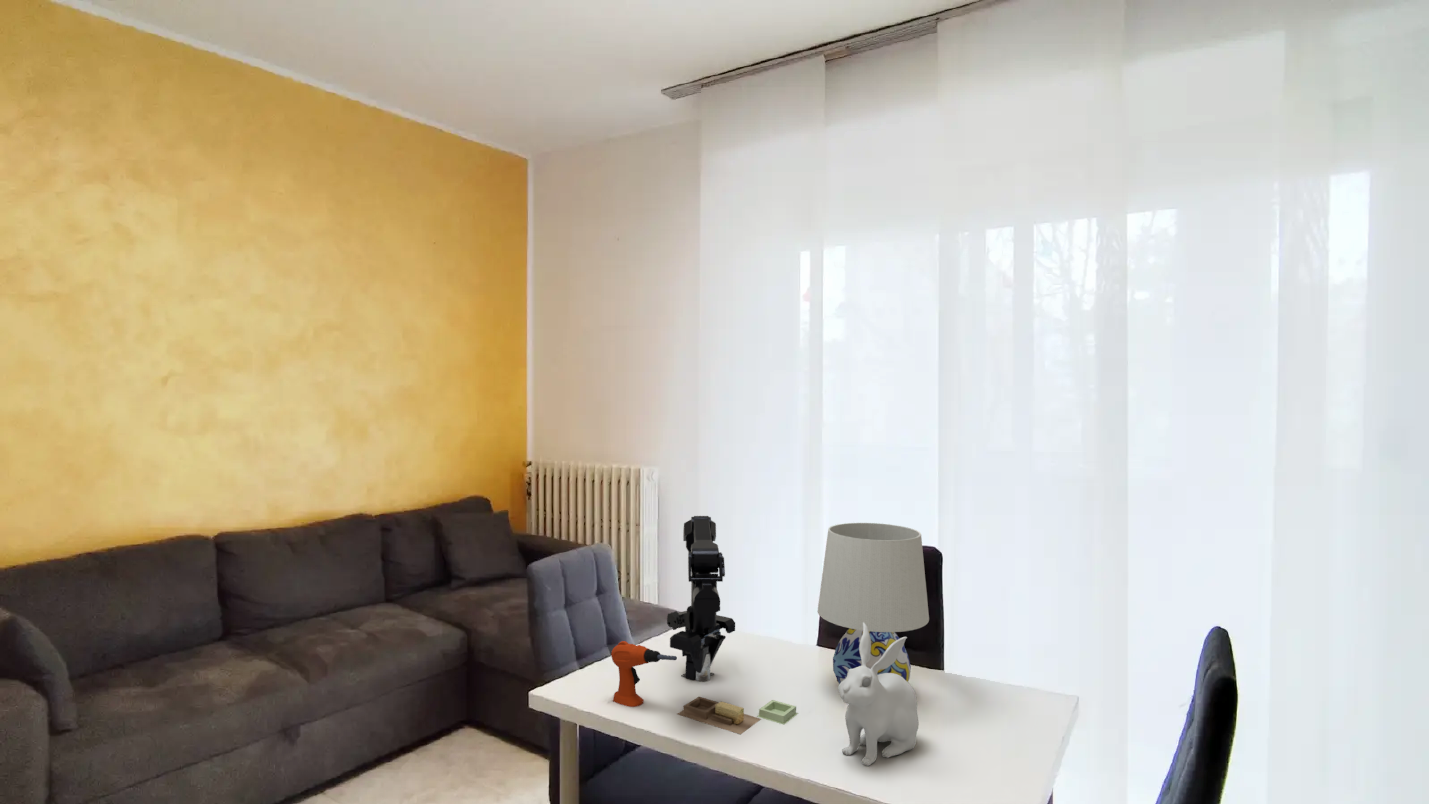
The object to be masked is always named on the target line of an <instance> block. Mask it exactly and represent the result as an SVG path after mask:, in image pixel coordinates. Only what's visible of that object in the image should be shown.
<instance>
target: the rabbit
mask: <svg viewBox="0 0 1429 804" xmlns="http://www.w3.org/2000/svg"><path fill="white" fill-rule="evenodd" d="M906 639H908V637H907V636H903V637H899V639H898V640H896V641H895V642H893V643H892V644H891V645H890V646H889V647H888V648H887V650H886V651H885V653H884V654H883V656H882V657H881V658H880V660H879V661H878V662H876V663H875V664H874V665H873V667H872V668H871V669H869V668H868V667H866V663H867V662H868V661H869V660H870V652H871V639H870V635H869V631H868V628H867V626H866V624H865V623H864V622H863V635H862V637H861V640H860V645H859V651H860V656H861V661H862V665H861V666H859V667H856V668H854V669H849V671H848V673H847V677H846V679H845V680H843V681H842V682H841V683H840V684H839V683H838V686H837V691H838V695H839V696H838V697H839V698H840V700H842V701H843V702H844V703H845V704H847V705H848V706H847V708H846V711H845V725H846V729H847V734H848V736H849V737H848V738H849V745H848V746H845V747H843V748H842V749H841V751H842V753H843V754H844V755H845V756H851V755H852V754H854V753H855V752H857V750H858V749H859V746H860V745H861V746H866V752H865V755H864V757H863V758H862V759H861V764H863V765H864V766H867V767H869V766H871V765H872V764H873V763H874V762H875V761H876V759H877V757H878V743H885V742H890V744H888V745H887V746H886V747H884V748H883V749H882V751H881V755H882V757H885V758H891V757H894V756H900V755H901V754H903V753H904V752H908V751H911V750H912V749H914V748H915V746H916V743H917V734H918V730H919V725H920V723H919V714H918V700H917V694H916V692H915V690H914V688H913V686H912V685H911V684H910V683H909V681H908V682H907V681H906V680H905V679H904V678H902V677H901V676H900V675H897V674H894V673H883V674H879V675H877V672H878V670H880V669H886V668H888V667H889V666H890V665H891V664H893V663H894V662H895V660H896V659H897V657H898V655H899V652H900V650H901V648H902V647H903V645H904V646H905V642H906ZM862 730H864V733H863V734H862V735H861V733H862Z"/></svg>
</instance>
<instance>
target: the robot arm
mask: <svg viewBox="0 0 1429 804" xmlns="http://www.w3.org/2000/svg"><path fill="white" fill-rule="evenodd" d="M682 533H683V536H682V537H683V538H682V539H683V542H685V549H686V550H687V552H688V553H687V569H688V571H687V572H688V573H687V575H688V582H689V583H690V582H691V584H690V585H691V586H690V587H691V588H690V589H691V591H690V593H691V594H690V595H691V599H690V600H691V601H690V603H691V604H690V605H689V606H687V608H686V610H684V611H680V612H678V611H677V610H676V611H672V612H671V611H670V612H669V613H667V614H666V615H667V616H666V624H667V627H668V628H672V631H676V630H677V629H682V628H684V629H685V630H680V631H679V632H677V633H674V634H672V635H671V636H670V638H669V647H670V648H671V649H675V650H679V651H681V655H682V657H685V673H683V674H680V675H681V676H680V677H682V678H685V679H687V680H688V679H689V680H691V681H696V682H699V683H700V682H701V681H697V680H696V672H698V673H701V671H702V668H703V665H704V661H705V658H706V654H707V651H708V647H709V652H710V667H711V666H712V664H713V662H714V660H715V658H716V655H717V654H718V651H719V650H720V649H721V645H723V642H724V640H726V636H725V635H722V634H721V631H720V630H722V629H725V632H726V634H732V633H733V632H735V631H736V622H735V621H734V618H732V617H728V616H723V615H718V614H717V613H718V612H720V611H721V599H720V594H719V592H718V588H717V587H718V582H722V583H723V581H724V577H726V568H725V567H726V566H725V557H724V556H723V553H722V552H720V550H719V545H718V544H717V543H715V542H716V539H717V525H716V522H715V521H713V520H712V517H711V516H709V515H694V516H691V518H690V519H689V520H688V521H685V522H684V523H683V532H682ZM714 675H715V673H714V672H711V671H710V678H711V677H712V676H714Z"/></svg>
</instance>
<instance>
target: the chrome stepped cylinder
mask: <svg viewBox="0 0 1429 804" xmlns="http://www.w3.org/2000/svg"><path fill="white" fill-rule="evenodd" d="M710 672H711V666H710V652H709V647H708V651H707V654H706V658H705V661H704V665H703V668H702V671H701V673H698V672H696V680H697V681H696V680H695V681H696V682H699V681H701V682H702V683H705V682H709V681H710V680H711V677H710Z"/></svg>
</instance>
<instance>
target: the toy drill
mask: <svg viewBox="0 0 1429 804" xmlns="http://www.w3.org/2000/svg"><path fill="white" fill-rule="evenodd" d="M610 653H611V659H612V662H613V663H614V665H615V666H616V667H618V674H619V677H618V678H619V683H618V688H617V689H618V690H617V691H615V692H614V693H613V694H614V695H613V698H612V702H614V703H616V704H619V705H621V706H624V707H630V708H636V707H640V706H642V705H643V704H644V702H645V700H644V699H643V697H641V696H639V694H637V691H636V685H637V684H638V683H639V681H641V678H640V677H639V676H638V673H637V670H636V669H635V667H637V666H638V667H639V666H642V665H646V664H649V663H658V662H659V661H660V660H661V661H662V660H666V661H676V660H677V659H678V657H677V656H676V655H666V654H663V653H662V654H661V653H660V652H659V651H658V650H653V649H650V648H647V647H646V646H645V645H641V644H638V645H636V644H634V643H629V642H627V641H625V640H622V641H619V642H618V644H617V645H615V646H614V647H613V648H612V650H611V652H610Z"/></svg>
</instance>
